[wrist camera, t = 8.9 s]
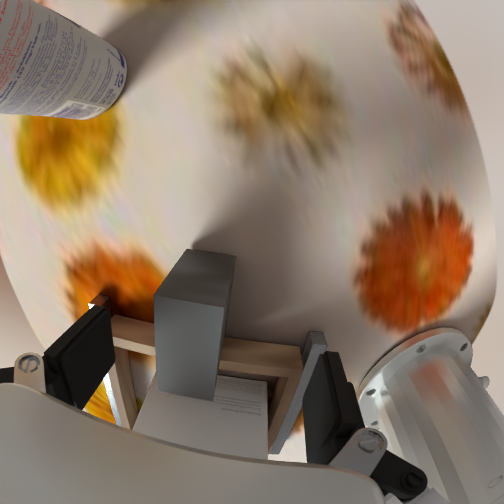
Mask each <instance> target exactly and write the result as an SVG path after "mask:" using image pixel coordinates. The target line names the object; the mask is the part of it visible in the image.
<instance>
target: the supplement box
mask: <svg viewBox="0 0 504 504" xmlns="http://www.w3.org/2000/svg"><path fill="white" fill-rule="evenodd" d="M132 430H133V431H136V432H139V433H142V434H145V435H148V436H151V437H154V438H158V439H161V440H165V441H168V442H172V443H176V444H180V445H184V446H188V447H192V448H197V449H201V450H206V451H211V452H216V453H222V454H227V455H234V456H240V457H248V458H256V459H264V460H268V418H267V382H266V381H257V380H249V379H241V378H234V377H228V376H221V375H218V376H217V382H216V388H215V393H214V399H213V401H208V400H203V399H197V398H192V397H187V396H182V395H177V394H173V393H168V392H164V391H160V390H158V382H157V371H156V373H155V376H154V378H153V381H152V383H151V385H150V388H149V390H148V393H147V395H146V397H145V400H144V402H143V405H142V407H141V410H140V412H139V415H138V417H137V420H136V422H135V424H134V427H133V429H132Z"/></svg>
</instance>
